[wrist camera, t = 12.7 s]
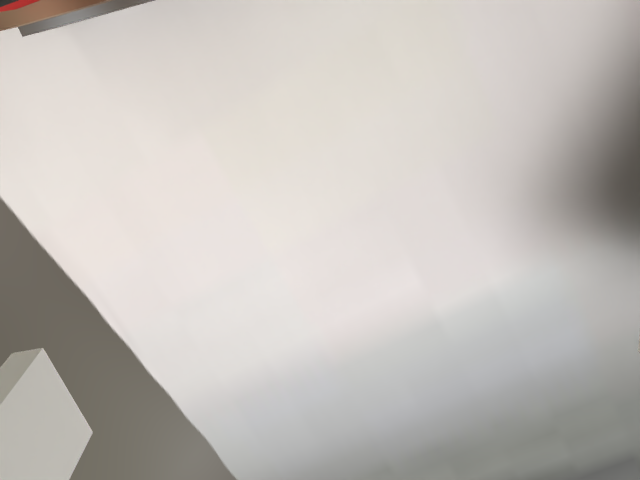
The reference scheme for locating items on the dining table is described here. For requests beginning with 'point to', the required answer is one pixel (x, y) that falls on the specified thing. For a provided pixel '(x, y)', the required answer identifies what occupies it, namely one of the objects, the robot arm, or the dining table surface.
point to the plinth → (81, 17)
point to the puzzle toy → (14, 4)
